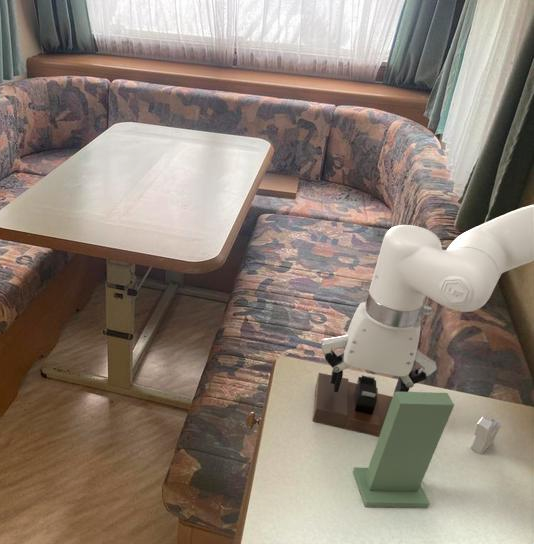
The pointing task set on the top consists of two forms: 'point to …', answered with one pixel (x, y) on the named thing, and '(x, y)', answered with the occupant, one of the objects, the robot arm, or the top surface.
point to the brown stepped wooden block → (347, 407)
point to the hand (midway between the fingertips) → (365, 392)
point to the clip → (365, 394)
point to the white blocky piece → (485, 434)
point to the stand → (404, 450)
